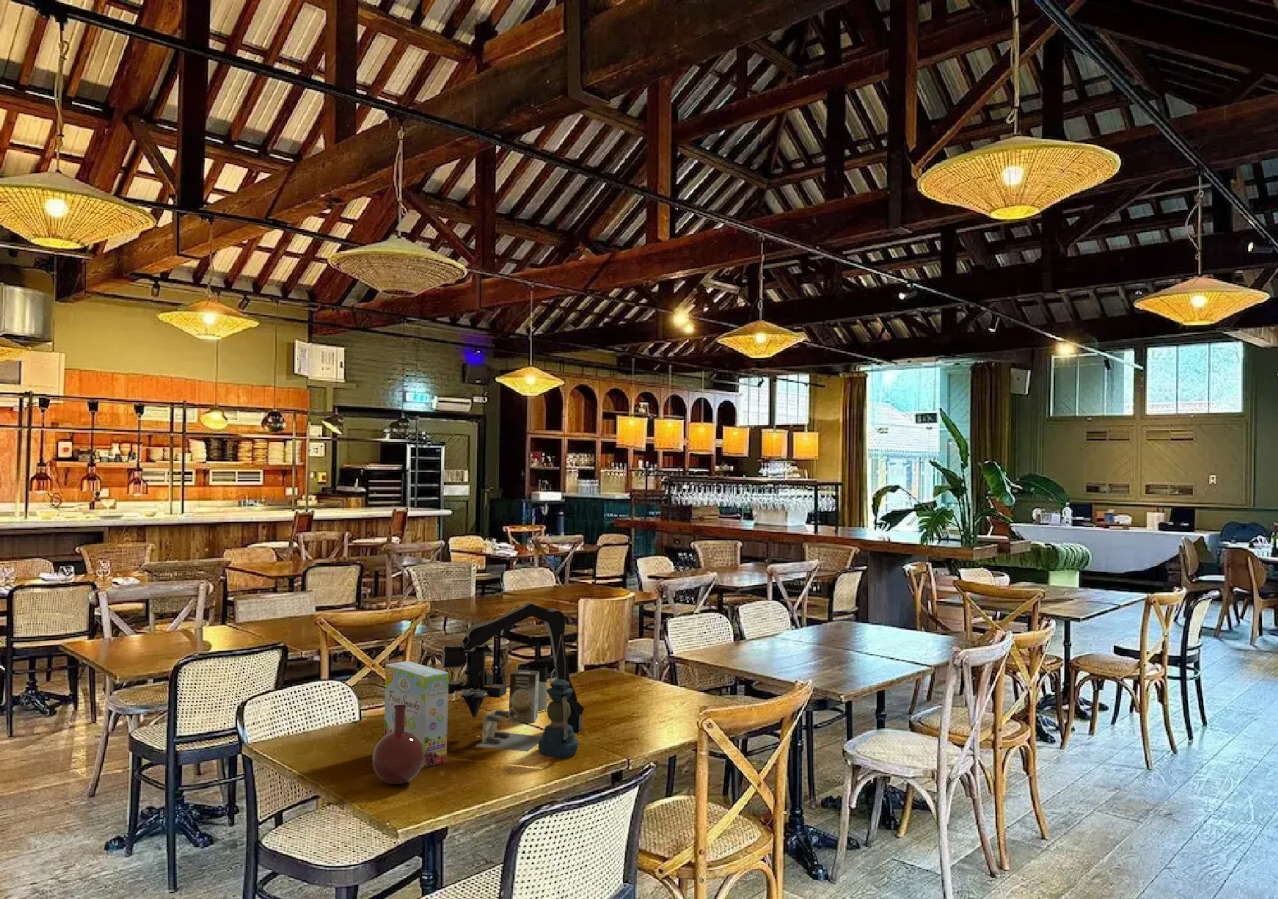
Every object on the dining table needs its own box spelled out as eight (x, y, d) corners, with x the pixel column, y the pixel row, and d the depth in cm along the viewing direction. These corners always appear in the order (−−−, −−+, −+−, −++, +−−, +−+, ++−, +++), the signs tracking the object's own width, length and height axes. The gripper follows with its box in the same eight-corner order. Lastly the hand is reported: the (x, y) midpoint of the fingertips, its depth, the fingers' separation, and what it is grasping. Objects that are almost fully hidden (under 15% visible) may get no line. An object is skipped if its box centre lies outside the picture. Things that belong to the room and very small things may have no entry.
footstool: (509, 737, 273) (510, 711, 273) (498, 744, 265) (499, 717, 266) (493, 735, 274) (493, 709, 275) (482, 742, 267) (482, 715, 267)
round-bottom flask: (416, 772, 240) (418, 698, 240) (429, 787, 228) (431, 709, 229) (367, 779, 233) (369, 703, 234) (377, 794, 222) (380, 715, 223)
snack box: (380, 752, 257) (383, 663, 258) (406, 746, 263) (409, 660, 264) (422, 769, 242) (425, 675, 243) (448, 762, 249) (451, 671, 250)
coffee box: (507, 721, 293) (508, 673, 293) (512, 716, 299) (513, 669, 300) (534, 723, 292) (535, 674, 292) (538, 718, 298) (539, 670, 299)
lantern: (532, 748, 264) (535, 631, 265) (570, 744, 268) (573, 629, 270) (544, 762, 251) (547, 639, 252) (584, 758, 255) (586, 637, 256)
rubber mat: (547, 738, 274) (547, 736, 274) (527, 753, 259) (527, 751, 259) (496, 733, 278) (497, 731, 278) (474, 747, 263) (475, 746, 263)
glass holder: (520, 707, 312) (521, 665, 312) (557, 704, 318) (558, 662, 318) (527, 713, 304) (528, 670, 304) (566, 710, 310) (567, 667, 310)
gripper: (513, 663, 278) (512, 713, 277) (460, 659, 283) (459, 708, 282) (499, 670, 267) (498, 722, 267) (444, 666, 272) (442, 717, 272)
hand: (474, 717), depth 272 cm, fingers closed
